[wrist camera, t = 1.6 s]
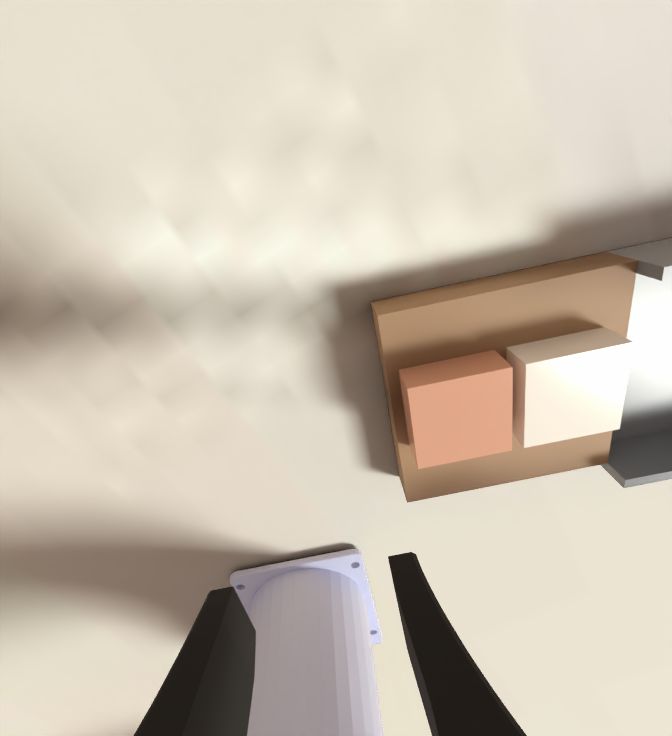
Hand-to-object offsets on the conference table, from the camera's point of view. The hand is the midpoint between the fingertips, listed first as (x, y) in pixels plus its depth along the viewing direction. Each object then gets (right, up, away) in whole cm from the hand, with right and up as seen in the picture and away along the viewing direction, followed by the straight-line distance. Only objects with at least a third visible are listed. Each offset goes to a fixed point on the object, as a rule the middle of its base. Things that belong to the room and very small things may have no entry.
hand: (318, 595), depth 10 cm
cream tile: (+10, +5, +6) cm, 13 cm away
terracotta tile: (+5, +5, +7) cm, 10 cm away
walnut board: (+8, +5, +8) cm, 13 cm away
